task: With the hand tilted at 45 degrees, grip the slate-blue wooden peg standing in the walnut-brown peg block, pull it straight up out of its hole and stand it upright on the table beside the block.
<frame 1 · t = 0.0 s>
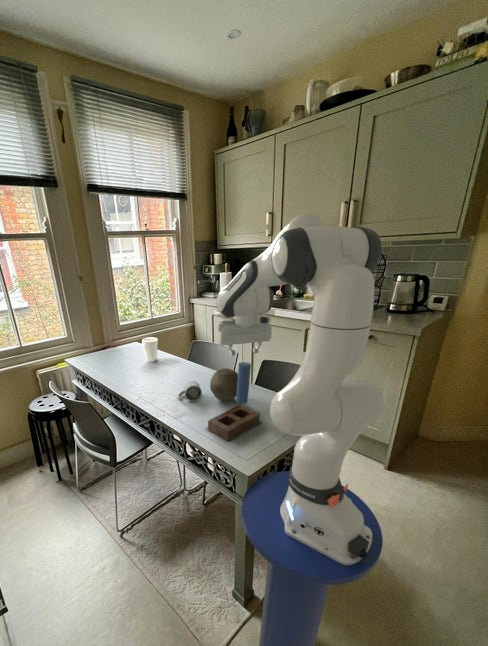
hand: (244, 353, 122), 26 cm above the table, tool pointing down, fingers open, 8 cm apart
foam cup: (151, 360, 195), on the table
peg: (241, 400, 122), point 10 cm above the table
peg block: (234, 425, 124), on the table
ceramic mug: (190, 398, 147), on the table
cantaloupe: (225, 400, 143), on the table
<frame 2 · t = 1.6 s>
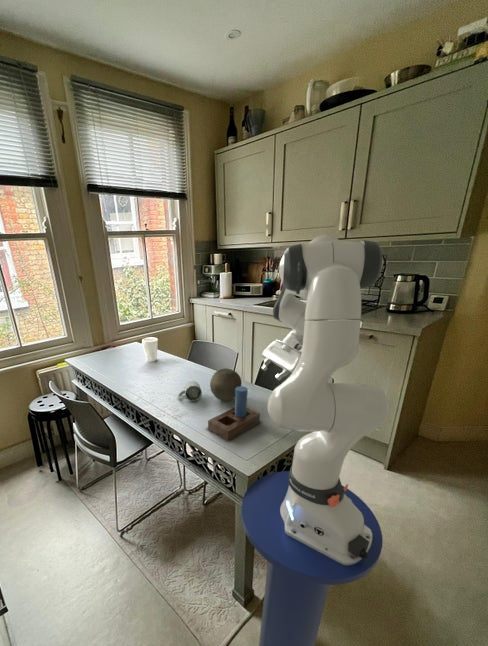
hand: (269, 374, 122), 19 cm above the table, tool tilted 45°, fingers open, 8 cm apart
peg: (240, 422, 126), resting in peg block
everything else where it was.
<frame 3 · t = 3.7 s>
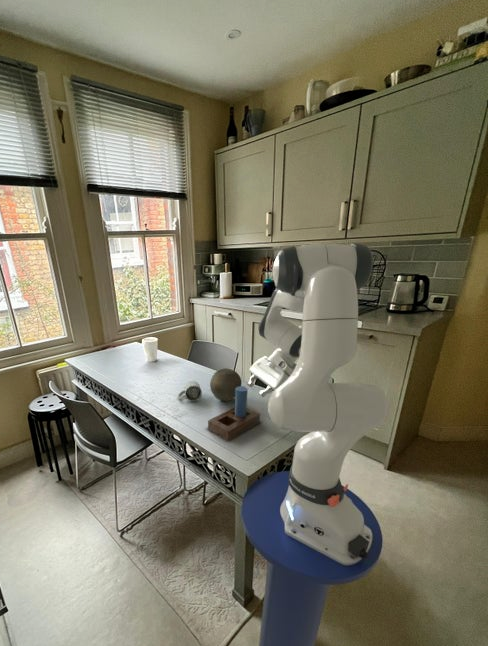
hand: (254, 390, 122), 13 cm above the table, tool tilted 45°, fingers open, 8 cm apart
nothing on the table moved.
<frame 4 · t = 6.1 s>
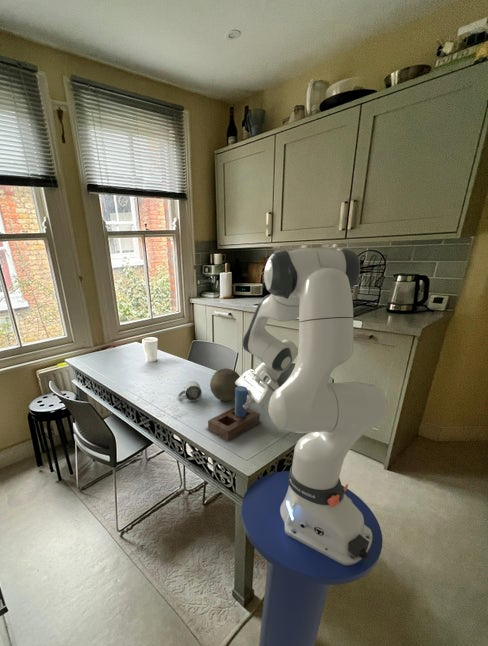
hand: (240, 404, 123), 8 cm above the table, tool tilted 45°, fingers closed on peg, 4 cm apart
peg: (240, 422, 126), resting in peg block, touching gripper
everything else where it was.
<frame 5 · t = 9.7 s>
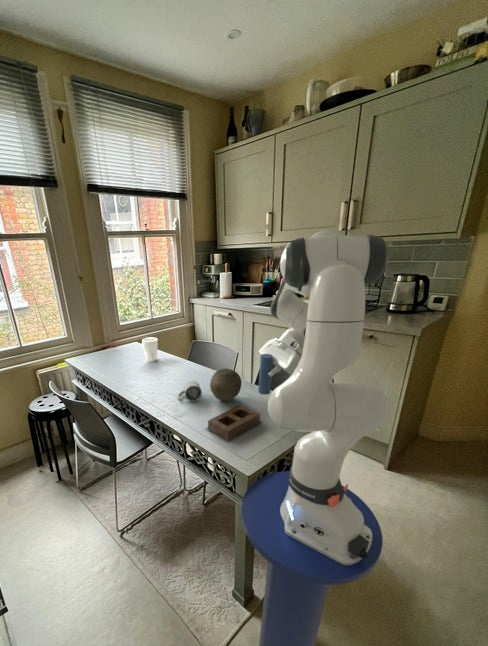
hand: (264, 372, 120), 20 cm above the table, tool tilted 45°, fingers closed on peg, 4 cm apart
peg: (264, 392, 123), point 12 cm above the table, touching gripper
everything else where it was.
when the fingers open (8 cm above the table, at t = 13.8 s): peg stays where it is, on the table.
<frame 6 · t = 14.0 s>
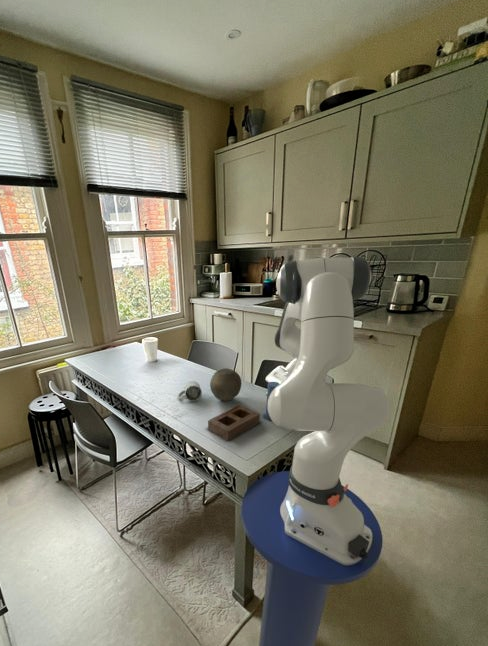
hand: (271, 399, 125), 8 cm above the table, tool tilted 45°, fingers open, 6 cm apart
peg: (270, 417, 129), on the table
everything else where it was.
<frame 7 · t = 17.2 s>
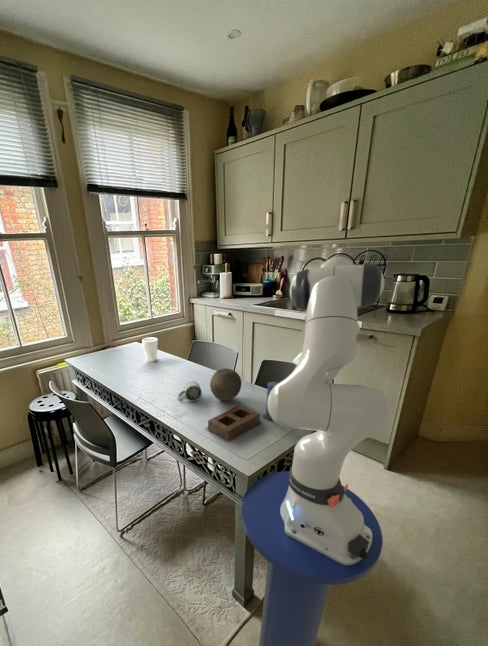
hand: (300, 381, 126), 14 cm above the table, tool tilted 45°, fingers open, 8 cm apart
nothing on the table moved.
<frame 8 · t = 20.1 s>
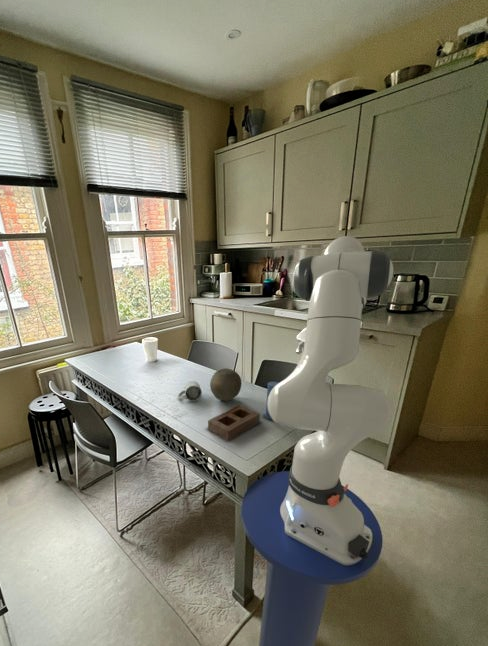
hand: (304, 356, 122), 24 cm above the table, tool tilted 45°, fingers open, 8 cm apart
nothing on the table moved.
at the end: peg inside the target area (0.3 cm from its centre), on the table; peg tilted 0°; the gripper is holding nothing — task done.
